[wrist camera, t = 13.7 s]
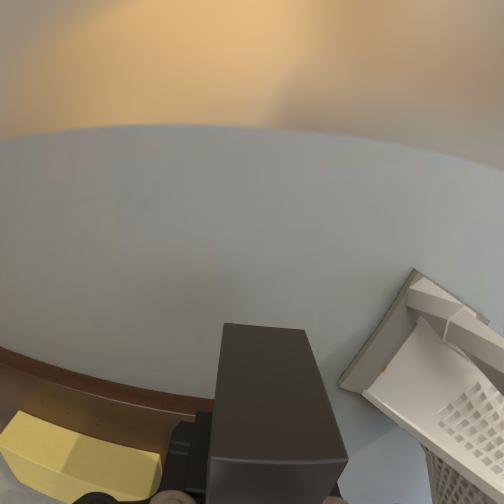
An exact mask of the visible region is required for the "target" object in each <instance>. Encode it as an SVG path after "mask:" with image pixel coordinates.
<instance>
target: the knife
mask: <svg viewBox="0 0 504 504" xmlns="http://www.w3.org/2000/svg"><path fill="white" fill-rule="evenodd" d="M347 463H348V455H347V452H346V449H345V446H344V443H343V440H342V437H341V434H340V431H339V428H338V425H337V422H336V419H335V416H334V413H333V410H332V407H331V404H330V402H329V399H328V396H327V393H326V390H325V387H324V384H323V381H322V378H321V375H320V372H319V370H318V367H317V364H316V361H315V358H314V355H313V352H312V350H311V347H310V344H309V341H308V338H307V335H306V333H305V330H300V329H287V328H275V327H263V326H253V325H243V324H233V323H224V326H223V333H222V341H221V349H220V357H219V366H218V374H217V382H216V391H215V399H214V408H213V416H212V425H211V434H210V443H209V452H208V465H207V484H206V504H324V502H325V500H326V499H327V497H328V496H329V494H330V492H331V491H332V489H333V487H334V486H335V484H336V482H337V480H338V479H339V477H340V475H341V473H342V472H343V470H344V468H345V466H346V464H347Z"/></svg>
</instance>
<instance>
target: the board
mask: <svg viewBox="0 0 504 504" xmlns="http://www.w3.org/2000/svg"><path fill="white" fill-rule="evenodd" d="M213 408H214V400H211V399H203V398H196V397H189V396H182V395H176V394H170V393H164V392H158V391H153V390H147V389H142V388H137V387H133V386H128V385H123V384H119V383H115V382H110V381H106V380H102V379H98V378H94V377H90V376H87V375H83V374H79V373H76V372H72V371H69V370H65V369H62V368H59V367H56V366H52V365H49V364H46V363H43V362H40V361H37V360H34V359H31V358H28V357H26V356H23V355H20V354H17V353H15V352H12V351H9V350H7V349H4V348H2V347H0V434H1V433H2V432H3V431H4V429H5V428H6V427H7V425H8V424H9V423H10V421H11V420H12V419H13V417H14V416H15V415H16V414H17V412H18V411H19V410H20V411H22V412H25V413H27V414H29V415H32V416H34V417H36V418H39V419H41V420H44V421H46V422H49V423H52V424H54V425H57V426H60V427H63V428H65V429H68V430H71V431H74V432H77V433H80V434H83V435H86V436H90V437H93V438H96V439H100V440H103V441H107V442H110V443H114V444H118V445H122V446H126V447H130V448H134V449H139V450H143V451H148V452H153V453H158V454H160V459H161V468H162V473H163V468H164V464H165V460H166V455H167V452H168V447H169V444H170V438H171V434H172V430H173V429H174V428H175V427H176V426H177V424H178V423H179V422H180V421H185V422H193V423H194V422H195V417H196V411H197V409H200V410H208V411H213Z"/></svg>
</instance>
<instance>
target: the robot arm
mask: <svg viewBox="0 0 504 504" xmlns="http://www.w3.org/2000/svg"><path fill="white" fill-rule="evenodd" d="M212 416H213V411H208V410H200V409H197V411H196V417H195V422H194V423H193V422H185V421H180V422H179V423H178V424H177V426H176V427H175V428H174V429H173V430H172V434H171V438H170V444H169V447H168V452H167V455H166V460H165V464H164V468H163V473H162V477H161V482H160V486H159V488H158V490H157V491H156V493H155V494H154V495H152V496H151V497H149V498H147V499H144V500H140V501H117V500H116V499H115V498H114V497H113V496H111V495H109V494H107V493H104V492H90V493H87V494H84V495H83V496H81V497H80V498H79V499H77V500H76V501H75V502H73V503H72V504H206V484H207V465H208V452H209V443H210V434H211V425H212ZM324 504H349V503H348V502H347V501H345V500H344V499H343V498H342V496H341V494H340V491H339V487H338V483H337V482H336V484H335V486H334V487H333V489H332V491H331V492H330V494H329V496H328V497H327V499H326V500H325V502H324Z"/></svg>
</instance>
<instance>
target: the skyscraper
mask: <svg viewBox="0 0 504 504" xmlns="http://www.w3.org/2000/svg"><path fill="white" fill-rule="evenodd" d="M489 322H490V321H489V320H488V319H487V318H485V317H484V316H483V315H481V314H480V313H478V312H477V311H476V310H474V309H473V308H471V307H470V306H469V305H467V304H466V303H464V302H463V301H461V300H460V299H459V298H457V297H456V296H454V295H453V294H451V293H450V292H448V291H447V290H445V289H444V288H442V287H441V286H439V285H438V284H436V283H435V282H433V281H432V280H430V279H429V278H427V277H426V276H424V275H423V274H421V273H420V272H418V271H417V270H415V269H413V271H412V273H411V275H410V276H409V278H408V280H407V281H406V283H405V285H404V286H403V288H402V290H401V291H400V293H399V294H398V296H397V298H396V299H395V301H394V302H393V304H392V305H391V307H390V309H389V310H388V312H387V313H386V315H385V316H384V318H383V319H382V321H381V322H380V324H379V325H378V327H377V328H376V330H375V331H374V333H373V334H372V335H371V337H370V338H369V340H368V341H367V343H366V344H365V345H364V347H363V348H362V350H361V351H360V352H359V354H358V355H357V356H356V358H355V359H354V360H353V362H352V363H351V364H350V366H349V367H348V368H347V370H346V371H345V372H344V374H343V375H342V376H341V378H340V379H339V380H338V381H337V383H338V386H339V387H341V388H344V389H347V390H350V391H352V392H355V393H359V394H362V395H363V396H364V397H365V398H366V399H368V400H369V401H370V402H371V403H372V404H374V405H375V406H376V407H377V408H379V409H380V410H381V411H382V412H383V413H385V414H386V415H387V416H388V417H390V418H391V419H392V420H393V421H394V422H396V423H397V424H398V425H399V426H401V427H402V428H403V429H404V430H406V431H407V432H408V433H409V434H411V435H412V436H413V437H414V438H416V439H417V440H418V441H419V443H420V445H421V446H422V448H423V449H424V451H425V455H426V462H427V468H428V474H429V481H430V488H431V495H432V501H433V504H504V339H503V338H502V337H500V336H499V335H498V334H496V333H495V332H494V331H493V330H491V329H490V328H489V327H487V325H488V323H489Z"/></svg>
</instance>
